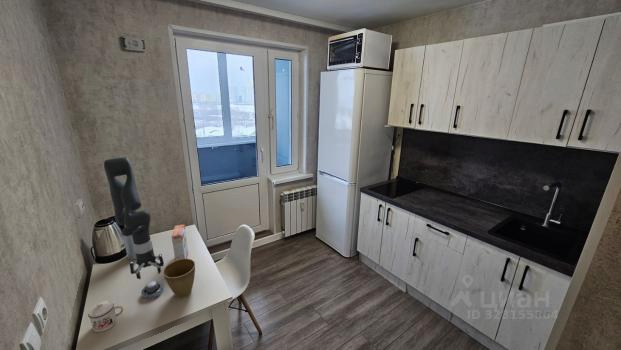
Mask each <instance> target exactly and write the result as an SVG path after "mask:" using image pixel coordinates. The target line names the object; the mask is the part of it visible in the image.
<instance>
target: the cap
mask: <svg viewBox="0 0 621 350" xmlns="http://www.w3.org/2000/svg"><path fill="white" fill-rule="evenodd" d="M158 282H159V281H155V280H154V281H153V280H152V281H150V282H148V283H146V285H145V286H144V287H145V288H146V294H151V293H154V292H156V291H157V290H158V289H159V286H158Z"/></svg>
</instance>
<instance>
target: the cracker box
mask: <svg viewBox="0 0 621 350" xmlns="http://www.w3.org/2000/svg"><path fill="white" fill-rule="evenodd" d="M171 242H172V248H173V254H174V261H176V260H179V259H188V255H189V247H188V237H187V232H186V225H185V224H178V225H174V229H173V231H172V234H171Z"/></svg>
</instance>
